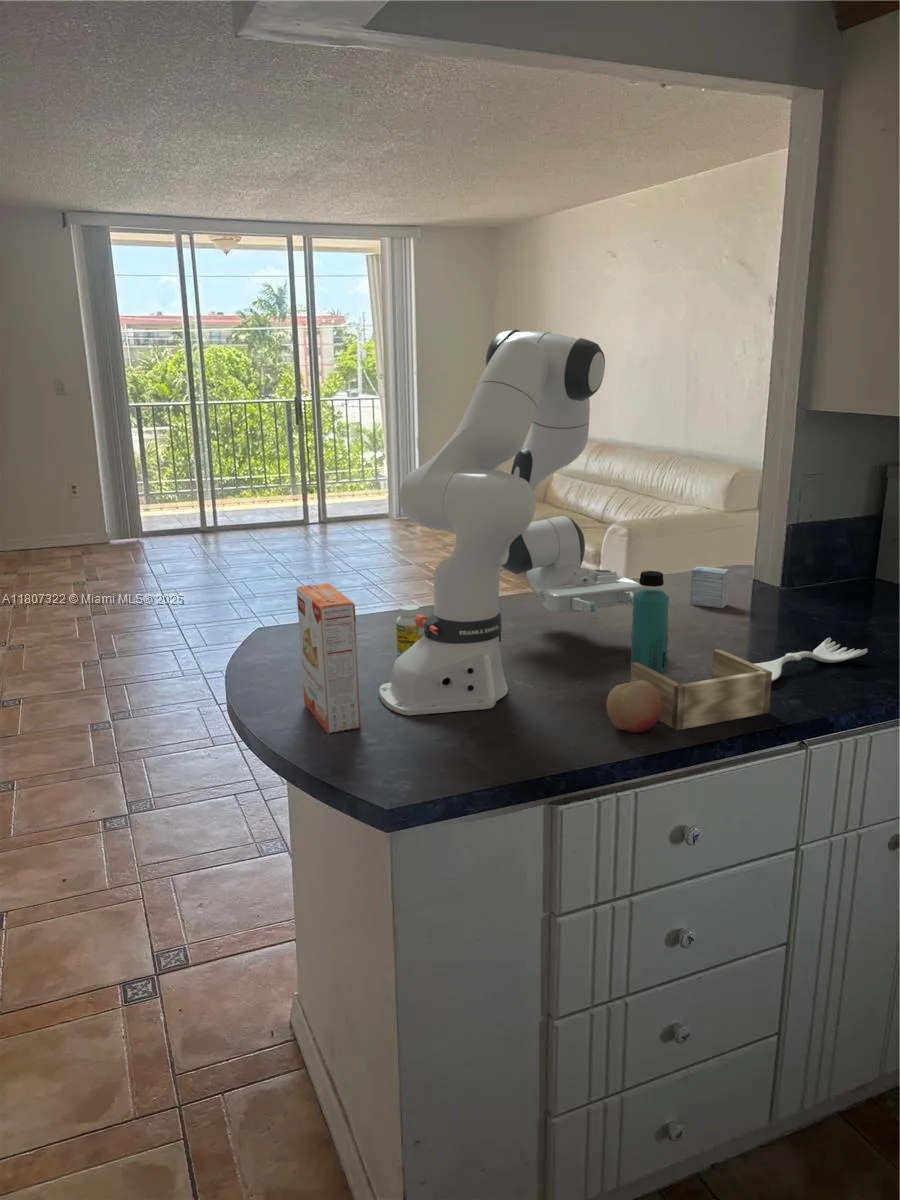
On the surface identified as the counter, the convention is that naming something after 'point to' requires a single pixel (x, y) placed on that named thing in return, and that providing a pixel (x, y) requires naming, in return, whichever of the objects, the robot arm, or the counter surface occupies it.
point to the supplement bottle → (407, 628)
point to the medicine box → (709, 587)
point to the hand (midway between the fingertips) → (613, 605)
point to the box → (711, 693)
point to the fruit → (634, 706)
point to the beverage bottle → (650, 624)
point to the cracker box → (329, 656)
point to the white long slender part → (813, 656)
